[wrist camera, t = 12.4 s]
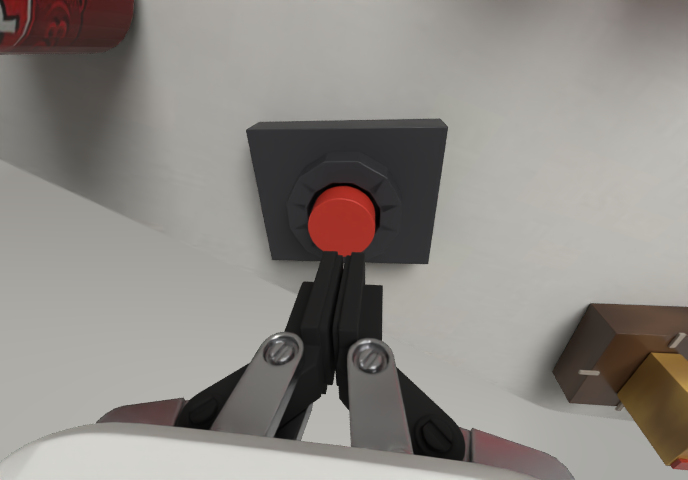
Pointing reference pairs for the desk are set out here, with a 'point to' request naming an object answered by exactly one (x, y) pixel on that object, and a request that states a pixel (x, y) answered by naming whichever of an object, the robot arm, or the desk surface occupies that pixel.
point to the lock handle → (661, 405)
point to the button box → (350, 181)
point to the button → (342, 220)
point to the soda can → (63, 26)
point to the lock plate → (617, 349)
